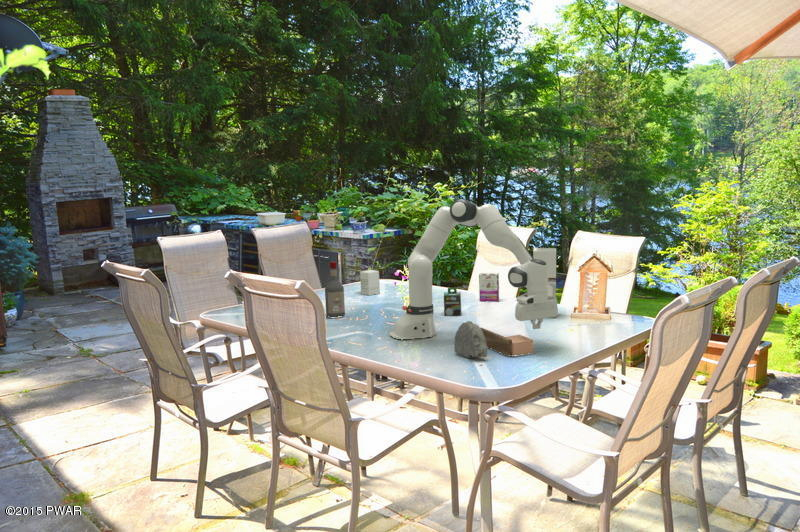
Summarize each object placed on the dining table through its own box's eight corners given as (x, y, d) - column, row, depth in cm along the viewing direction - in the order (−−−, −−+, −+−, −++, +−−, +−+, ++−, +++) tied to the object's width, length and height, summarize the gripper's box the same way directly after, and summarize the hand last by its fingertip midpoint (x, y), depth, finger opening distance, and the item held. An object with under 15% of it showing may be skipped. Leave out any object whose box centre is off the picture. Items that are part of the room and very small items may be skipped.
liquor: (346, 317, 341) (343, 262, 336) (329, 319, 338) (327, 264, 333) (341, 313, 349) (338, 260, 345) (325, 315, 346) (322, 261, 341)
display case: (533, 317, 327) (533, 251, 322) (533, 313, 337) (533, 248, 332) (555, 318, 324) (556, 251, 319) (555, 313, 334) (556, 248, 329)
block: (513, 357, 261) (513, 343, 260) (500, 351, 270) (500, 337, 269) (533, 353, 265) (533, 340, 264) (519, 348, 274) (519, 334, 273)
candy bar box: (499, 300, 372) (499, 273, 369) (498, 302, 367) (498, 274, 365) (480, 299, 375) (480, 272, 373) (479, 301, 370) (478, 274, 368)
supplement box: (371, 292, 409) (370, 269, 407) (380, 293, 402) (379, 270, 400) (360, 294, 404) (359, 271, 401) (368, 296, 397) (368, 272, 394)
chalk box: (461, 312, 345) (460, 285, 342) (461, 315, 336) (460, 288, 333) (444, 312, 346) (443, 285, 343) (443, 316, 337) (443, 288, 334)
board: (507, 356, 261) (507, 340, 260) (477, 343, 282) (477, 328, 281) (511, 356, 262) (511, 339, 261) (481, 342, 283) (481, 327, 282)
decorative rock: (452, 353, 268) (452, 319, 266) (465, 350, 271) (464, 317, 269) (477, 362, 254) (476, 326, 252) (489, 359, 258) (489, 324, 255)
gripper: (552, 293, 277) (551, 324, 279) (513, 298, 268) (512, 329, 270) (561, 296, 271) (560, 327, 273) (521, 300, 263) (521, 333, 265)
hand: (536, 328), depth 272 cm, fingers closed
